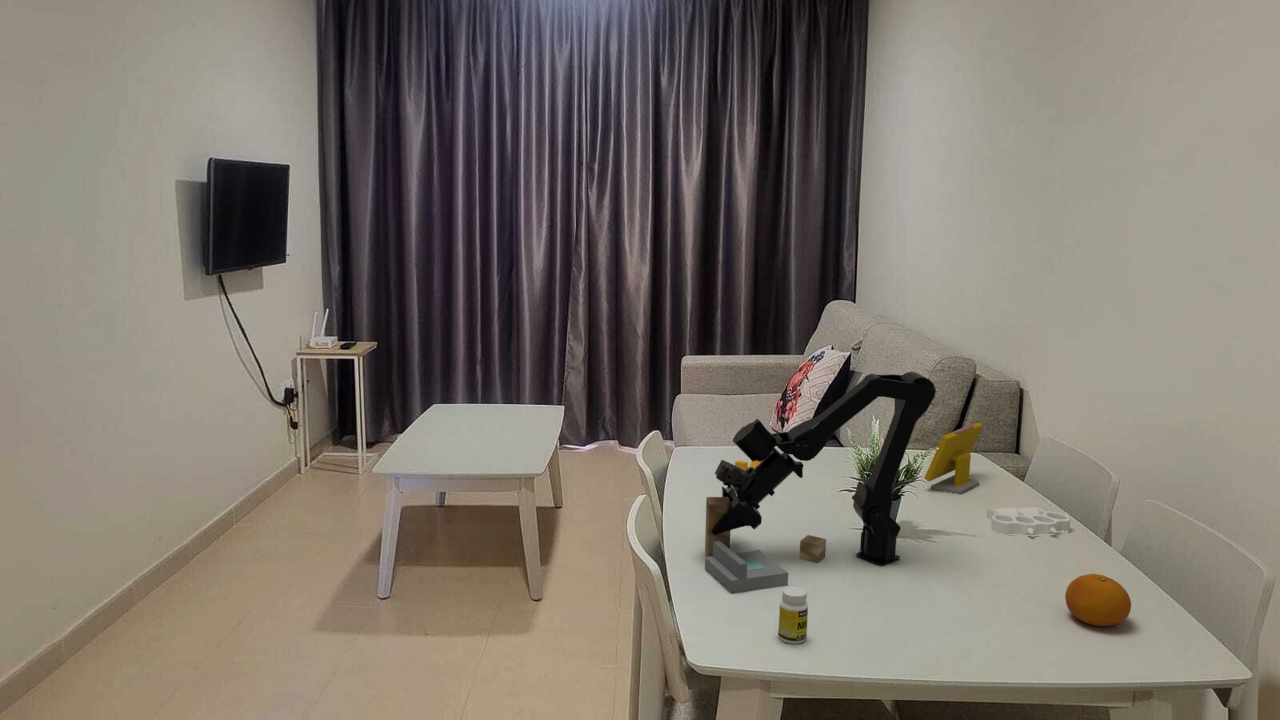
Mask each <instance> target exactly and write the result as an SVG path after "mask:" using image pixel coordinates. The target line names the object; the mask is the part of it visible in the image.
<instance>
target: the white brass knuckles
mask: <svg viewBox="0 0 1280 720" xmlns="http://www.w3.org/2000/svg"><path fill="white" fill-rule="evenodd" d="M986 517H987V519H988V518H990V519H991V520H992V521H991V520H990V521H991V523H990V525H991V526H990V530H991V529H992V530H993V531H995V532H997V533H1001V534H1006V535H1009V534H1022V535H1038V534H1056V533H1057V531H1062V530H1064V531H1067V530H1069V531H1070V528H1071V518H1070V516H1068V515H1066V514H1064V513H1061V512H1057V511H1056V512H1055V511H1047V510H1043V509H1041V508H1040V507H1037V506H1031V507H1007V508H1005V507H1003V508H993V507H990V508H989V509H987V510H986ZM992 530H991V531H992ZM993 531H992V532H993ZM995 532H994V533H995ZM997 533H996V534H997ZM1056 535H1057V534H1056Z"/></svg>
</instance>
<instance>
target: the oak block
mask: <svg viewBox="0 0 1280 720" xmlns="http://www.w3.org/2000/svg"><path fill="white" fill-rule="evenodd" d="M799 541H800V542H799V560H803V561H807V562H811V563H816V564H819V563H820V562H822V560H823V559H825V558H826V550H827V545H826V544H827V538H823V537H819V536H814V535H809V534H807V535H806V536H805V537H803V538H802V539H801V540H799Z"/></svg>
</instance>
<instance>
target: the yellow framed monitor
mask: <svg viewBox="0 0 1280 720" xmlns="http://www.w3.org/2000/svg"><path fill="white" fill-rule="evenodd" d="M983 427H984V426H983V424H982V423H980V422H976V423H973V424H970V425H966V426H965V427H961V428H959V429H955V430H954V431H952V432H949V433H947V434H944V435H942V436H941V439H940V441H939V444H938V446H937V448H939V449H938V450H937V449H936V450H937V451H935V453H934V455H933V457H932V460H931V462H930V464H929V467H928V469H927V471H926V472H925V473H926V474H925V475H924V480H926V481H927V482H932V481H933V480H936V479H938V478H941V477H942V476H945V475H947V474H949V473H952V472H954V471H955V472H954V475H951V476H949V477H946V478H944V479H943V480H940V481H938V482H936V483H934V484H932V485H931V487H930V489H931V490H933V489H935V490H934V491H939V490H940V491H939V492H944V491H946V492H945V493H950V492H952V493H951V494H955V493H958V494H957V495H962V494H964V493H966V492H968V490H969V491H970V489H971V490H973V489H974V487H975V488H977V487H978V485H979V486H980V481H979V480H975V479H972V478H970V470H971V456H972V455H971V454H972V453H971V452H972V450H973V448H974V446H975V444H976V443H977V442H976V441H977V440H978V437H979V435H980V433H981V431H982V429H983ZM976 486H977V487H976ZM972 488H973V489H972Z"/></svg>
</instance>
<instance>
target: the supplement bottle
mask: <svg viewBox="0 0 1280 720" xmlns="http://www.w3.org/2000/svg"><path fill="white" fill-rule="evenodd" d="M807 593H808V592H807V591H806V590H805V589H804V588H802V587H799V586H787V587H784V588H783V589H782V595H781V598H782V599H781V600H780V602H779V612H778V613H779V615H778V633H777V634H778V635H777V636H778V638H779V640H781V641H782V642H784V643H787V644H794V645H797V644H799V645H800V644H802V643H804V642H805V641H806V640H807V636H808V635H807V634H808V633H807V632H808V615H809V605H808V602H807V598H808V597H807V596H808V595H807Z"/></svg>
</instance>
